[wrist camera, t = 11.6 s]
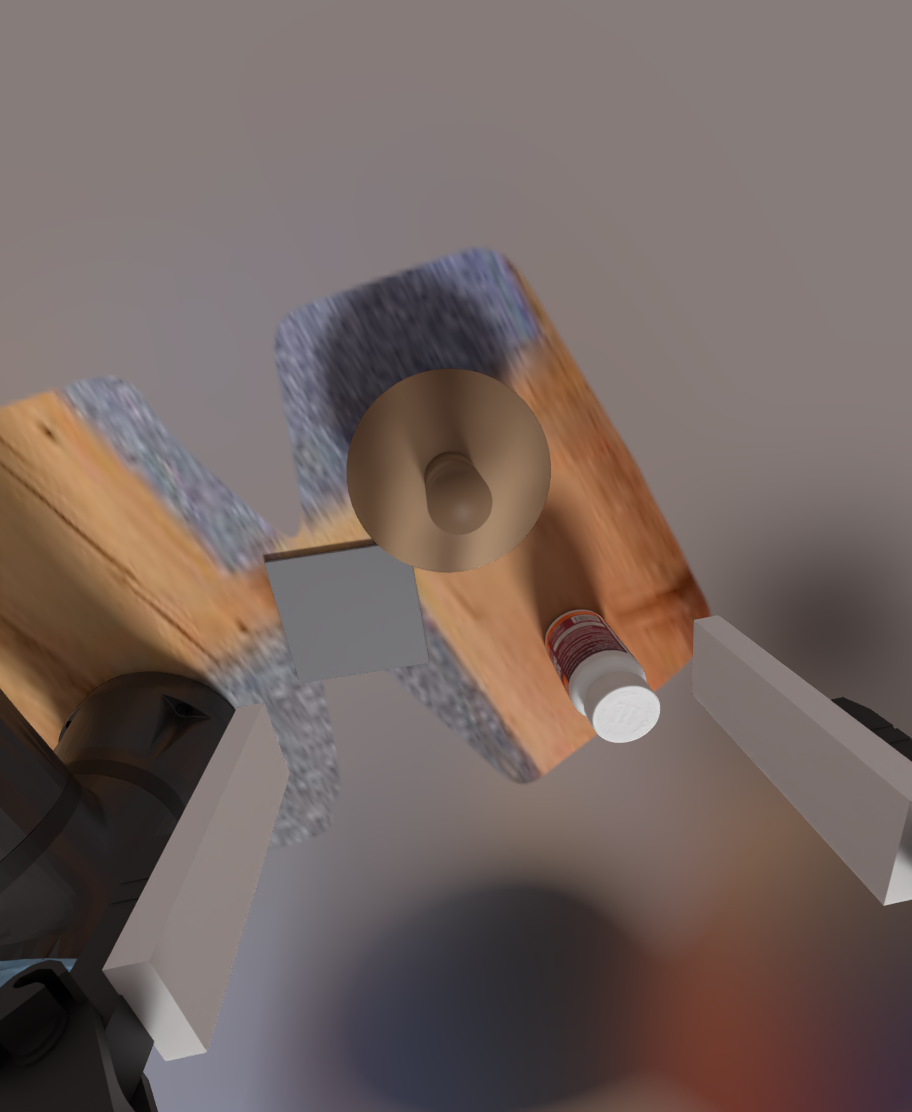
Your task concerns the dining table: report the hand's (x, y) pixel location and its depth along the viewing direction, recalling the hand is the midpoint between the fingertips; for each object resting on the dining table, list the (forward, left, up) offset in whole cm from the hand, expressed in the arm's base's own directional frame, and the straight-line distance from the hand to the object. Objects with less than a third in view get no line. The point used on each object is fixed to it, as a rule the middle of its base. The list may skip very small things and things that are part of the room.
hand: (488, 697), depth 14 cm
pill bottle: (+11, -15, -27) cm, 33 cm away
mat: (-9, -9, -26) cm, 29 cm away
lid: (+1, +3, -21) cm, 22 cm away
